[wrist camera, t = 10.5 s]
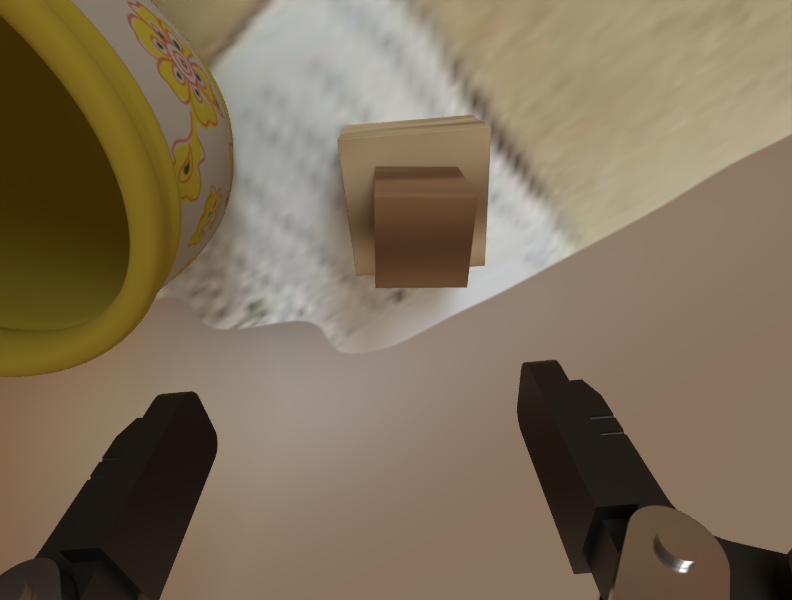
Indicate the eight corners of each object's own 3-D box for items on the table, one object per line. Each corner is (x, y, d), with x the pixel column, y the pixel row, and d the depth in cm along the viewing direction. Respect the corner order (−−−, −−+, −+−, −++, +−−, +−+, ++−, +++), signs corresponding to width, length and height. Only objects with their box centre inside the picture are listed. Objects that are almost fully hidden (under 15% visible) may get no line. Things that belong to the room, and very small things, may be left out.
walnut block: (375, 166, 24) (374, 197, 19) (457, 166, 24) (477, 197, 19) (376, 242, 27) (375, 287, 22) (450, 242, 27) (467, 287, 22)
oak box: (345, 125, 29) (337, 140, 23) (471, 114, 28) (491, 127, 23) (360, 242, 33) (356, 275, 28) (468, 233, 33) (484, 265, 28)
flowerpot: (-25, 169, 29) (-400, 273, 15) (-8, -131, 21) (-758, -492, 7) (220, 276, 34) (108, 429, 20) (305, 66, 26) (219, 78, 12)
